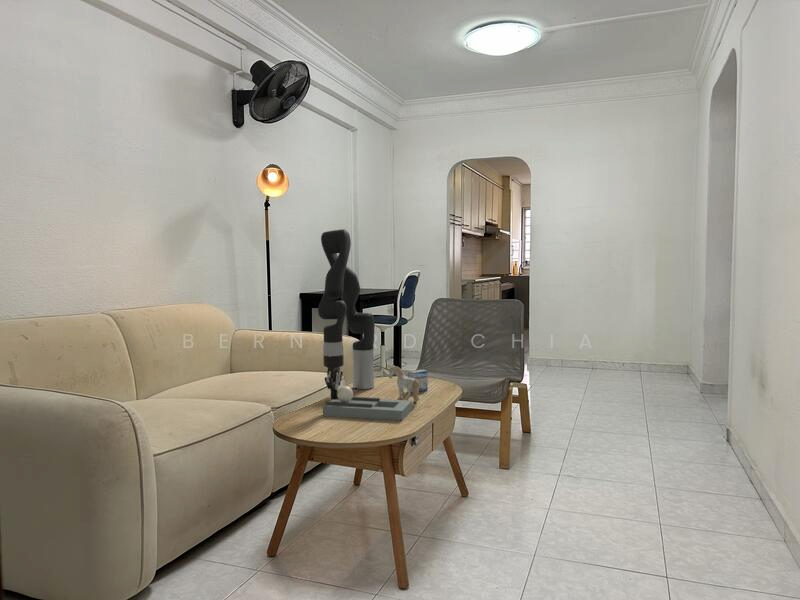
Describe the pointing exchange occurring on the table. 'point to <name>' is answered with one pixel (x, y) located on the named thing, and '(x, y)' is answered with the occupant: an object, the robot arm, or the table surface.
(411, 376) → the medicine box
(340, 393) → the plastic ball
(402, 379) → the unicorn figurine
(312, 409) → the table surface
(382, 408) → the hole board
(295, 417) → the table surface
